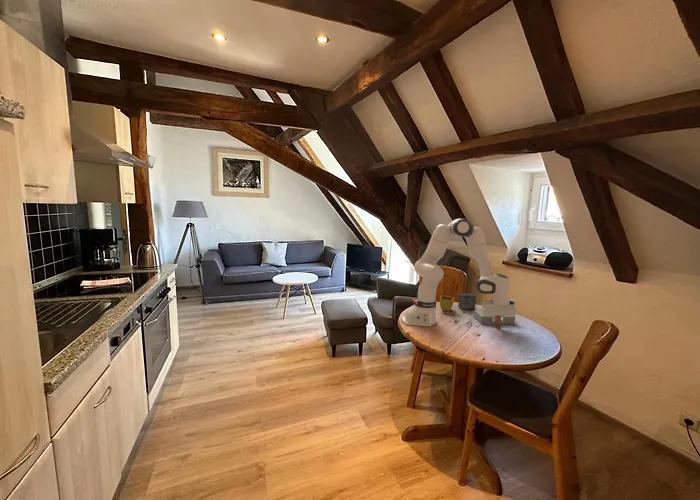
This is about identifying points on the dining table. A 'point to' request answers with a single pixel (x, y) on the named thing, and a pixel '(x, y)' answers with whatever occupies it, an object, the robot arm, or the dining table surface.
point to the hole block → (488, 319)
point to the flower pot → (446, 303)
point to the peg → (497, 321)
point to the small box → (467, 301)
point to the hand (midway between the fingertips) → (497, 321)
